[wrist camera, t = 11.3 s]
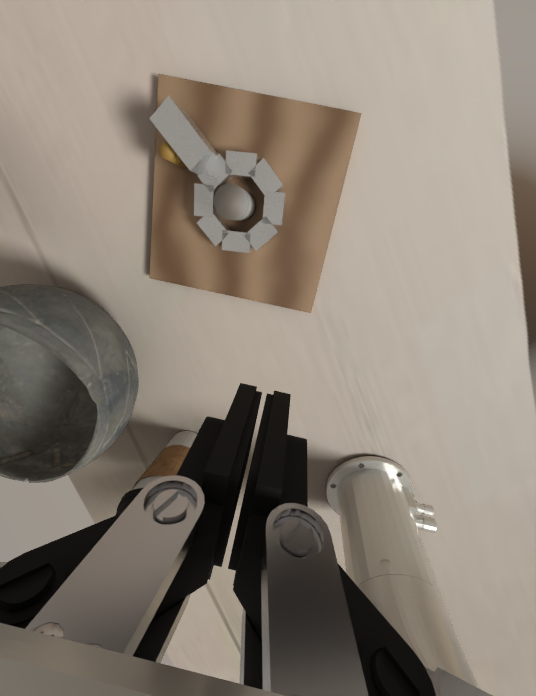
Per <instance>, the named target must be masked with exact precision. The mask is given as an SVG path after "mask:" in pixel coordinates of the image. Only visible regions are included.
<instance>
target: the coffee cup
mask: <svg viewBox="0 0 536 696" xmlns="http://www.w3.org/2000/svg"><path fill="white" fill-rule="evenodd" d="M196 436H197V433H195V432H192V431H182V432H179V433H177V434H175V435H174V437H173V438H172V439H171V440H170V442H169V443H168V444H167V445H166V447H165V448H164V449H163V450H162V452H161V453H160V454H159V455H158V456H157V458H156V459H155V460H154V461H153V463H152V464H151V465H150V466H149V467H148V469H147V470H146V471H145V472H144V474H143V475H142V476H141V477H140V479H139V480H138V481H137V482H136V483H135V485H134V487H133V490H131V491H129V492H128V493H126V494H125V495H124V496H123V498H122V499H121V502H120V503H119V505H118V508H117V513H116V515H118V514H121V513H123V512H124V511H125V509H126V508H127V507H128V506H129V505H130V503H131V502H132V501H133V500H134V499H135V497H136V496H137V495H138V494H139V493H140V491H141V490H142V489H143V488H144V487H146V486H147V485H148V484H149V483H150V482H152V481H154V480H156V479H158V478H161V477H165V476H176V475H177V473H178V471H179V469H180V467H181V465H182V463H183V461H184V459H185V457H186V455H187V453H188V451H189V449H190V448H191V446H192V444H193V442H194V440H195V438H196ZM116 515H115V516H116Z"/></svg>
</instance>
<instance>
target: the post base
mask: <svg viewBox="0 0 536 696" xmlns="http://www.w3.org/2000/svg"><path fill="white" fill-rule="evenodd" d="M168 96H170V97H171V98H172V99H173V100H174V101H175V102H176V103H177V104H178V105H179V106H180V107H181V108H182V109H183V110H184V111H186V112H187V113H188V114H189V115H190V117H191V118H192V119H193V121H194V122H195V123H196V125H197V126H198V127H199V129H200V130H201V131H202V133H203V134H204V135H205V137H206V138H207V139H208V141H209V142H210V144H211V145H212V146H213V148H214V149H215V150H216V152H217V153H218V154H221V155H222V156H223V157H224V158H225V159H226V150H227V151H237V152H247V153H257V154H258V156H259V157H260V161H261V160H262V159H263V158H264V159H265V160H266V161H267V163H268V164H269V166H270V167H271V168H272V170H273V171H274V173H275V174H276V175H277V177H278V178H279V180H280V181H281V182H282V184H283V185H284V188H283V189H282V190H280V191H279V192H282V193H286V201H285V210H284V219H283V225H275V227H276V228H277V229H278V231H279V233H277V234H276V235H275V236H274V237H273V238H272V239H270V240H269V241H268V242H267V243H266V244H265V245H263V246H262V247H261V248H260V249H259V250H257V251H255V249H254V248H252V252H251V253H244V252H235V251H227V250H222V244H221V245H219V246H215V245H214V244H213V243H212V241H211V240H210V239H209V238H208V237H207V235H206V234H205V233H204V232H203V230H202V229H201V228H200V227H199V225H198V224H197V222H198V221H199V220H200V219H201V218H202V217H203V216H194V183H197V184H203V183H202V181H201V180H200V179H199V177H198V174H196V173H194V172H192V171H190V170H189V169H188V168H187V166H186V165H185V164H184V162H183V161H182V160H181V159H180V157H179V156H178V155H177V153H176V152H175V151H174V150H173V148H172V147H171V146H170V144H169V143H168V142H167V141H166V139H165V138H164V137H163V136H162V134H161V133H160V132H159V130H158V129H157V128H156V141H155V164H154V187H153V209H152V232H151V255H150V278H151V279H156V280H161V281H165V282H170V283H174V284H179V285H184V286H188V287H193V288H198V289H202V290H207V291H211V292H216V293H221V294H225V295H230V296H235V297H239V298H244V299H248V300H253V301H258V302H262V303H267V304H272V305H276V306H281V307H285V308H290V309H295V310H299V311H304V312H309V313H311V311H312V307H313V303H314V299H315V295H316V291H317V287H318V283H319V279H320V275H321V271H322V267H323V263H324V259H325V255H326V251H327V248H328V244H329V240H330V236H331V232H332V228H333V224H334V220H335V216H336V212H337V208H338V204H339V200H340V196H341V192H342V188H343V184H344V180H345V176H346V172H347V168H348V164H349V160H350V156H351V153H352V149H353V145H354V141H355V137H356V133H357V129H358V125H359V121H360V117H361V113H357V112H352V111H347V110H342V109H336V108H331V107H326V106H321V105H316V104H311V103H306V102H300V101H295V100H290V99H285V98H280V97H275V96H269V95H264V94H259V93H254V92H249V91H244V90H238V89H233V88H228V87H223V86H218V85H213V84H207V83H202V82H197V81H192V80H187V79H182V78H176V77H171V76H166V75H161V74H158V95H157V109H158V108H159V106H160V105H161V104H162V103H163V102H164V100H165V99H166V98H167V97H168ZM260 161H259V162H260ZM264 197H265V195H264V194H263V192H262V191H261V190H260V188H259V187H258V186H257V184H256V183H255V182H254V180H253V179H245V178H236V177H233V178H232V179H231V180H230V181H229V182H228V183H227V184H224V185H222V186H220V187H219V188H218V190H217V191H216V193H215V196H214V206H215V209H216V211H217V212H218V215H219V216H220V217H221V218H222V220H223V221H224V222H225V224H226V225H227V226H228V227H229V229H230V230H233V231H242V232H248V231H249V230H250V229H252V228H253V227H254V226H255V225H256V224H257V223H258V222H259V221H261V220H262V219H263V208H264Z"/></svg>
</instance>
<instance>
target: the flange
mask: <svg viewBox="0 0 536 696" xmlns="http://www.w3.org/2000/svg"><path fill="white" fill-rule="evenodd" d="M149 119H150V120H151V121H152V123H153V124H154V125H155V127H156V128H157V129H158V130H159V132H160V133H161V134H162V136H163V137H164V138H165V139H166V141H167V142H168V143H169V144H170V146H171V147H172V148H173V150H174V151H175V152H176V153H177V155H178V156H179V157H180V159H181V160H182V161H183V162H184V164H185V165H186V166H187V168H188V169H189V170H190V171H192V172H194V173H196V174H198V177H199V179H200V180H201V181H202V183H203V184H197V183H194V216H203V217H202V218H201V219H200V220H199V221H198V222H197V224H198V225H199V227H200V228H201V229H202V230H203V232H204V233H205V234H206V235H207V237H208V238H209V239H210V240H211V241H212V243H213V244H214V245H215V246H219V245H221V244H222V250H227V251H235V252H244V253H251V252H252V248H254V249H255V251H257V250H259V249H260V248H261V247H262V246H263V245H265V244H266V243H267V242H268V241H269V240H270V239H272V238H273V237H274V236H275V235H276V234H277V233H279V231H278V229H277V228H276V227H275V225H283V219H284V210H285V201H286V193H282V192H279V191H280V190H282V189H283V188H284V185H283V184H282V182H281V181H280V180H279V178H278V177H277V175H276V174H275V173H274V171H273V170H272V168H271V167H270V166H269V164H268V163H267V161H266V160H265V159H264V158H263V159H262V160H261V161H260V157H259V156H258V154H257V153H247V152H237V151H227V150H226V159H225V158H224V157H223V156H222V155H221V154H218V153H217V152H216V150H215V149H214V148H213V146H212V145H211V144H210V142H209V141H208V139H207V138H206V137H205V135H204V134H203V133H202V131H201V130H200V129H199V127H198V126H197V125H196V123H195V122H194V121H193V119H192V118H191V117H190V115H189V114H188V113H187V112H186V111H184V110H183V109H182V108H181V107H180V106H179V105H178V104H177V103H176V102H175V101H174V100H173V99H172V98H171V97H170V96H168V97H167V98H166V99H165V100H164V102H163V103H162V104H161V105H160V106H159V108H158V109H157V110H156V111H155V112H154V114H153V115H152V116H151V117H150V118H149ZM259 161H260V162H259ZM233 177H236V178H245V179H253V180H254V182H255V183H256V184H257V186H258V187H259V188H260V190H261V191H262V192H263V194H264V195H265V197H264V208H263V219H262V220H261V221H259V222H258V223H257V224H256V225H255V226H254V227H253V228H252V229H250V230H249V231H248V232H242V231H233V230H230V229H229V227H228V226H227V225H226V224H225V222H224V221H223V220H222V218H221V217H220V216H219V215H218V212H217V211H216V209H215V206H214V196H215V193H216V191H217V190H218V188H219V187H220V186H222V185H224V184H227V183H228V182H229V181H230V180H231V179H232V178H233Z"/></svg>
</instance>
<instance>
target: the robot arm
mask: <svg viewBox="0 0 536 696" xmlns="http://www.w3.org/2000/svg"><path fill="white" fill-rule="evenodd" d="M256 388H257V387H256V386H251V385H247V384H242V383H240V386H239V388H238V390H237V393H236V395H235V398H234V400H233V403H232V405H231V407H230V410H229V412H228V415H227V417H226V419H225V420H221V419H217V418H212V417H206V419H205V421H204V422H203V424H202V426H201V428H200V430H199V432H198V434H197V436H196V438H195V440H194V442H193V444H192V446H191V448H190V449H189V451H188V453H187V455H186V457H185V459H184V461H183V463H182V465H181V467H180V469H179V471H178V473H177V475H176V476H165V477H161V478H158V479H156V480H154V481H152V482H150V483H149V484H148V485H147V486H146V487H144V488H143V489H142V490H141V491H140V493H139V494H138V495H137V496H136V497H135V499H134V500H133V501H132V502H131V503H130V505H129V506H128V507H127V508H126V509H125V511H124V512H123V513H121V514H118V515H116V516H114V517H111V518H109V519H106V520H104V521H101V522H99V523H97V524H94V525H92V526H89V527H87V528H85V529H82V530H80V531H77V532H75V533H72V534H70V535H68V536H65V537H63V538H60V539H58V540H55V541H53V542H51V543H48V544H46V545H43V546H41V547H39V548H36V549H34V550H31V551H29V552H26V553H24V554H22V555H20V556H18V557H16V558H14V559H13V560H11V561H9V562H0V696H492V695H490V694H488V693H486V692H484V691H483V690H481V689H480V687H479V685H478V683H477V680H476V678H475V676H474V674H473V672H472V670H471V667H470V665H469V663H468V660H467V658H466V656H465V653H464V651H463V648H462V646H461V643H460V641H459V638H458V636H457V633H456V631H455V628H454V626H453V623H452V620H451V618H450V615H449V612H448V610H447V607H446V604H445V602H444V599H443V596H442V594H441V591H440V588H439V586H438V583H437V580H436V577H435V575H434V572H433V569H432V567H431V564H430V561H429V558H428V556H427V553H426V550H425V548H424V545H423V542H422V539H421V537H420V534H419V531H418V529H420V530H423V531H427V532H431V533H434V532H435V531H436V521H435V519H434V518H431V517H426V516H422V515H420V516H419V515H415V514H416V513H417V512H418V513H421V514H424V515H428V516H433V514H434V509H433V507H432V506H430V505H426V504H419V503H417V502H416V501H415V500H414V486H413V483H412V481H411V478H410V476H409V475H408V473H407V472H406V471H405V470H404V469H403V468H402V467H401V466H400V465H398V464H397V463H395V462H393V461H391V460H388V459H386V458H381V457H375V456H364V457H358V458H353V459H351V460H348V461H346V462H344V463H342V464H341V465H339V466H338V467H337V468H336V469H335V470H333V472H332V473H331V475H330V476H329V478H328V481H327V486H326V492H327V499H328V502H329V504H330V506H331V507H332V509H333V510H334V511H335V512H336V513H337V514H338V515H339V516H340V523H341V531H342V540H343V548H344V557H345V565H346V572H345V571H344V570H343V569H342V568H341V567H340V566H339V564H338V563H337V559H336V554H335V550H334V546H333V542H332V537H331V534H330V531H329V529H328V526H327V524H326V523H325V522H324V520H323V519H322V517H321V516H320V515H318V514H317V513H316V512H315V511H314V510H312V509H310V508H308V504H307V440H306V439H304V438H299V437H295V436H291V435H287V429H288V417H289V406H290V394H287V393H282V392H278V391H274V394H273V395H271V394H267V396H266V401H265V405H264V410H263V414H262V418H261V423H260V427H259V431H258V436H257V440H256V445H255V449H254V453H253V458H252V462H251V466H250V471H249V475H248V480H247V484H246V489H245V493H244V498H243V502H242V507H241V512H240V516H239V521H238V525H237V530H236V535H235V539H234V544H233V548H232V553H231V557H230V562H229V567H228V569H232V570H236V574H235V579H234V584H233V585H234V588H233V591H234V592H235V594H236V596H237V597H238V599H239V601H240V603H241V604H242V606H243V614H242V632H241V660H240V684H238V683H234V682H230V681H226V680H223V679H219V678H215V677H211V676H207V675H203V674H199V673H196V672H192V671H188V670H184V669H180V668H176V667H172V666H168V665H164V664H161V660H162V658H163V656H164V654H165V652H166V649H167V647H168V645H169V643H170V641H171V639H172V636H173V634H174V632H175V630H176V628H177V625H178V623H179V621H180V619H181V617H182V614H183V612H184V610H185V608H186V606H187V604H188V600H189V597H190V594H191V593H192V592H194V591H196V590H197V589H199V588H200V587H202V586H203V585H205V584H206V583H207V580H208V579H210V577H211V573H212V569H213V566H214V565H216V566H220V567H221V566H222V563H223V559H224V555H225V551H226V547H227V543H228V538H229V534H230V530H231V526H232V522H233V518H234V514H235V510H236V506H237V502H238V498H239V494H240V490H241V486H242V482H243V478H244V474H245V469H246V465H247V461H248V457H249V452H250V447H251V442H252V438H253V433H254V428H255V423H256V419H257V414H258V409H259V405H260V400H261V395H262V392H258V391H256ZM417 528H418V529H417Z"/></svg>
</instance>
